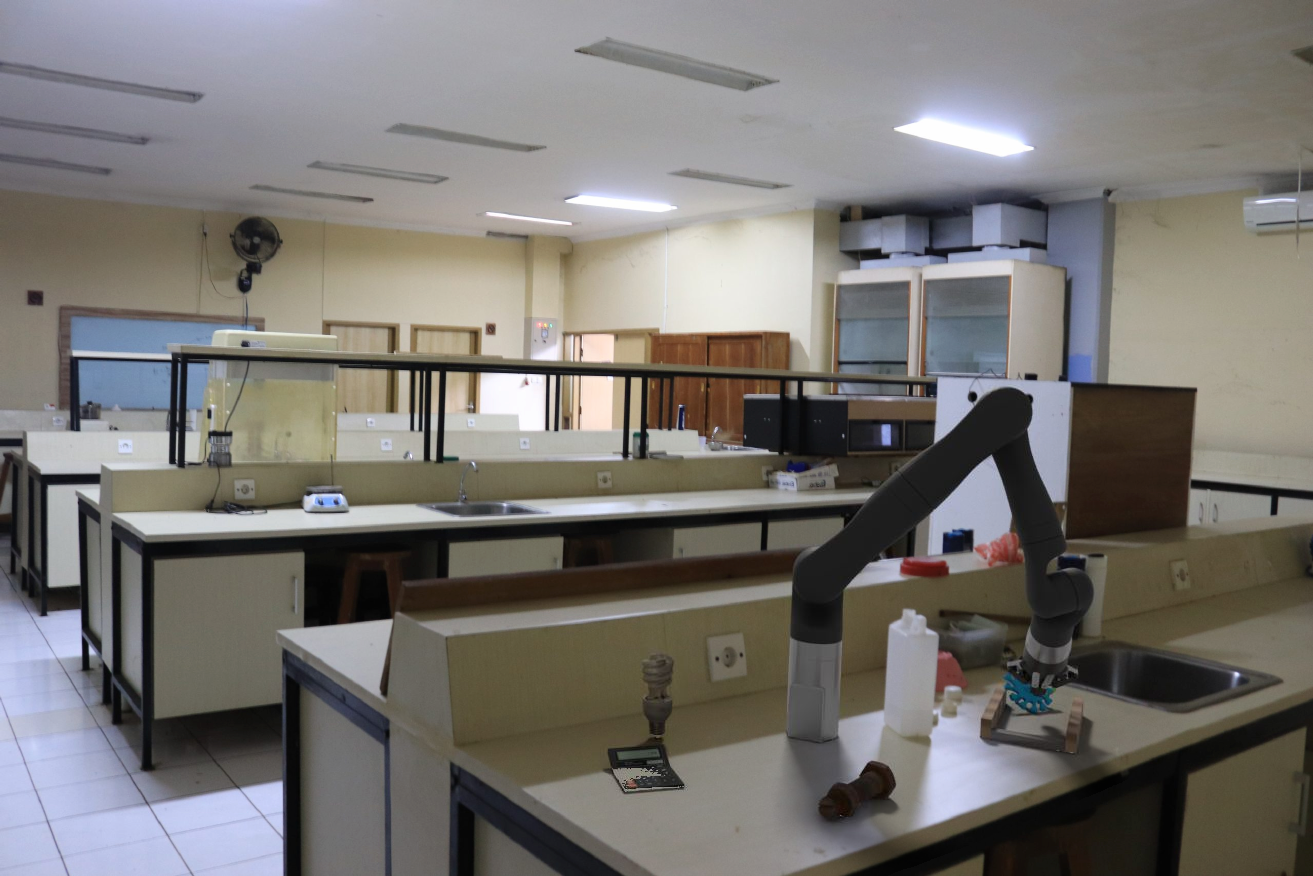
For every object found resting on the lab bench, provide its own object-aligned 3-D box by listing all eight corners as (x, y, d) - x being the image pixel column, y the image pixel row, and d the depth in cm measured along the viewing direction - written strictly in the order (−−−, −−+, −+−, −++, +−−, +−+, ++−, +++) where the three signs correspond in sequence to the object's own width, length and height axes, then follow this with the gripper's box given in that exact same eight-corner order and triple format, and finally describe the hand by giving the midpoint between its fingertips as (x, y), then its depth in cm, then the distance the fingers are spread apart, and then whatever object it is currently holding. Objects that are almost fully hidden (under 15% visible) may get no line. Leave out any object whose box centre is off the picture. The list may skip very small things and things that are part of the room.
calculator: (624, 794, 147) (625, 775, 146) (606, 765, 158) (607, 747, 158) (684, 789, 149) (685, 770, 149) (662, 761, 160) (663, 743, 160)
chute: (1076, 754, 169) (1077, 734, 169) (979, 737, 176) (980, 718, 176) (1082, 715, 191) (1083, 697, 191) (996, 701, 198) (997, 684, 198)
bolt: (820, 834, 139) (875, 801, 150) (847, 827, 136) (901, 794, 147) (804, 793, 141) (860, 763, 152) (830, 785, 138) (885, 755, 149)
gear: (1013, 706, 190) (1001, 661, 197) (998, 720, 194) (987, 675, 201) (1065, 713, 191) (1051, 667, 198) (1049, 727, 196) (1036, 682, 202)
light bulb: (658, 745, 166) (661, 658, 166) (633, 738, 170) (635, 652, 169) (677, 737, 171) (680, 652, 170) (652, 729, 174) (655, 646, 174)
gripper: (1086, 630, 177) (1073, 679, 189) (1008, 623, 181) (1000, 671, 193) (1088, 667, 172) (1075, 714, 185) (1009, 658, 176) (1000, 705, 188)
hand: (1037, 692), depth 189 cm, fingers closed
